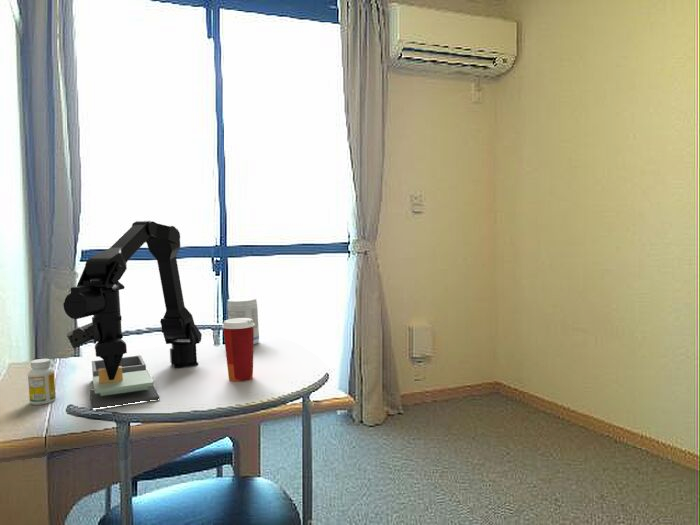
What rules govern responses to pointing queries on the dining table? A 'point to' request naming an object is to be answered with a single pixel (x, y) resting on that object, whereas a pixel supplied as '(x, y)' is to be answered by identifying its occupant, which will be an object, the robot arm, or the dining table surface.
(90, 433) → the dining table surface
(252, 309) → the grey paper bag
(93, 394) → the mat
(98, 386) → the lid
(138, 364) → the tub
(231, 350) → the coffee cup
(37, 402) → the supplement bottle
